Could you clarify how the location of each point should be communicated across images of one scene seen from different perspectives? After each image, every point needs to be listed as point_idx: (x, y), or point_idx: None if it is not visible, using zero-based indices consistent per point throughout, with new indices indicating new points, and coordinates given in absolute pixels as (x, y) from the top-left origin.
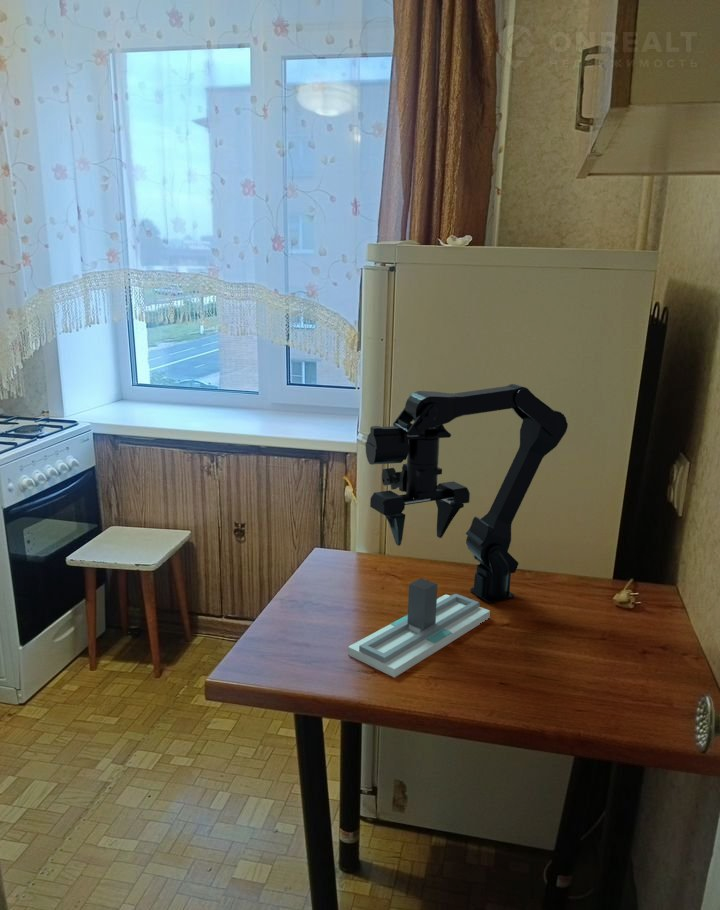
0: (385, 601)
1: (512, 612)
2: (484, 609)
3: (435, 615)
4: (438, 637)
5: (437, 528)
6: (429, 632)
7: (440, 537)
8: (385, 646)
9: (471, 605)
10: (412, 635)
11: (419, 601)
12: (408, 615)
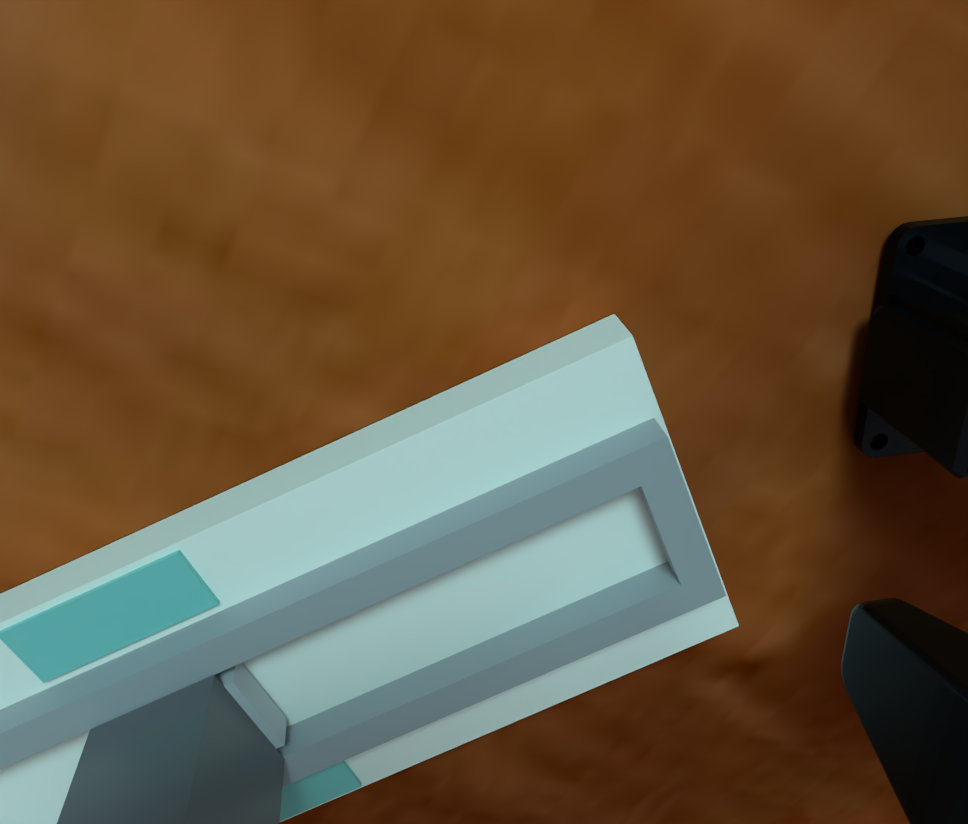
0: (122, 135)
1: (885, 567)
2: (719, 606)
3: (276, 810)
4: None
5: (963, 736)
6: None
7: (850, 694)
8: None
9: (647, 620)
10: None
11: None
12: (75, 785)
